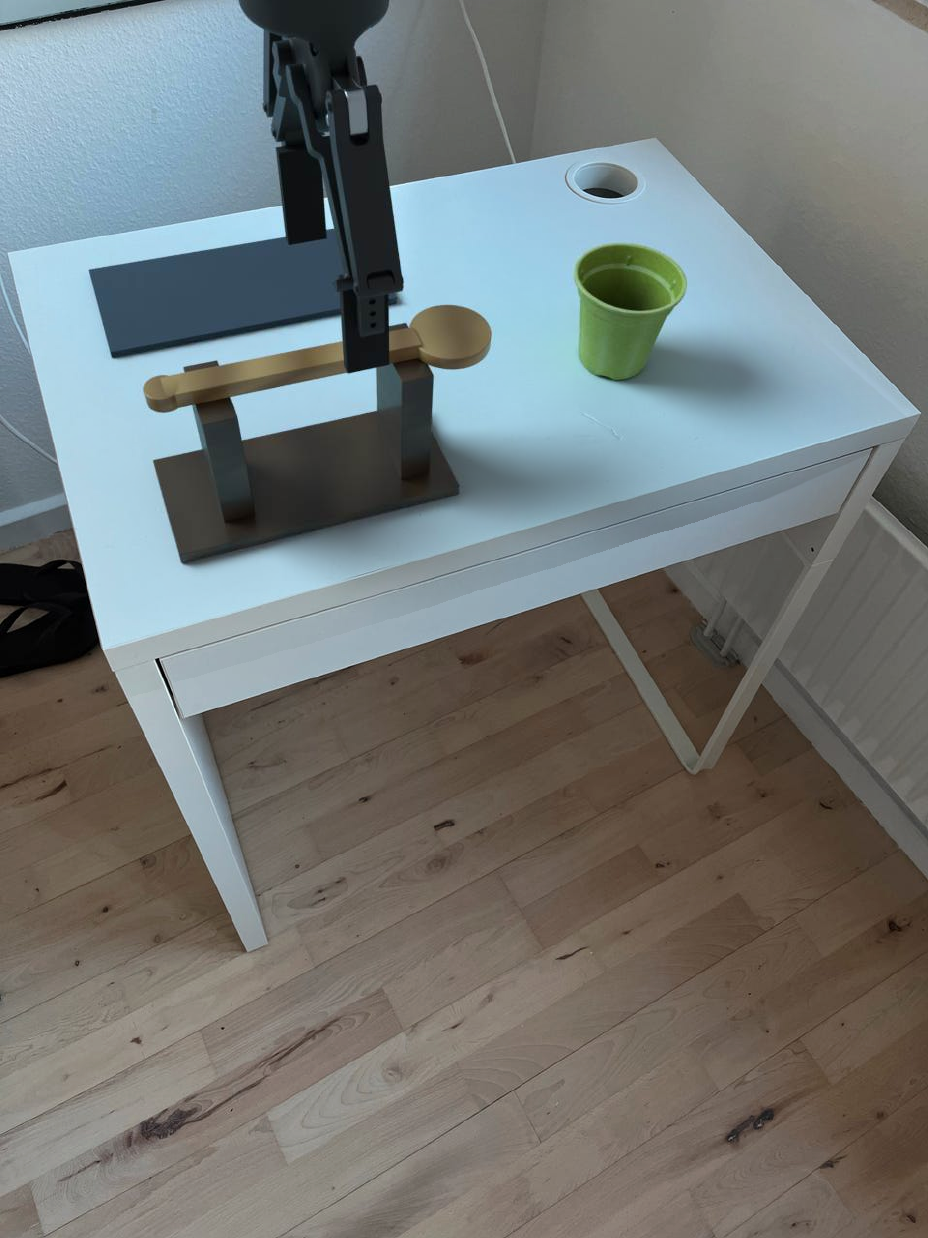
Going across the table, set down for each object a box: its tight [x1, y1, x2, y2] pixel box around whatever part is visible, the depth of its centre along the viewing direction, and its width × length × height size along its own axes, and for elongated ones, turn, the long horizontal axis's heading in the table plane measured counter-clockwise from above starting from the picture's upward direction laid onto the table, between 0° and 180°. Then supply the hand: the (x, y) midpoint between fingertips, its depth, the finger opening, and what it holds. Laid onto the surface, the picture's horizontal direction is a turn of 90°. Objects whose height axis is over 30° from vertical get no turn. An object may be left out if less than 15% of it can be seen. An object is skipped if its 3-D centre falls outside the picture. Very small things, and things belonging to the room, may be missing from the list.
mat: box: [88, 228, 398, 358], centre depth 87 cm, size 26×12×1 cm, turn 111°
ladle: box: [142, 304, 493, 414], centre depth 65 cm, size 25×6×1 cm, turn 111°
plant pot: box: [573, 242, 688, 381], centre depth 81 cm, size 9×9×9 cm
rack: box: [152, 322, 461, 564], centre depth 70 cm, size 22×10×11 cm, turn 111°
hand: (335, 298), depth 62 cm, fingers open, 13 cm apart
